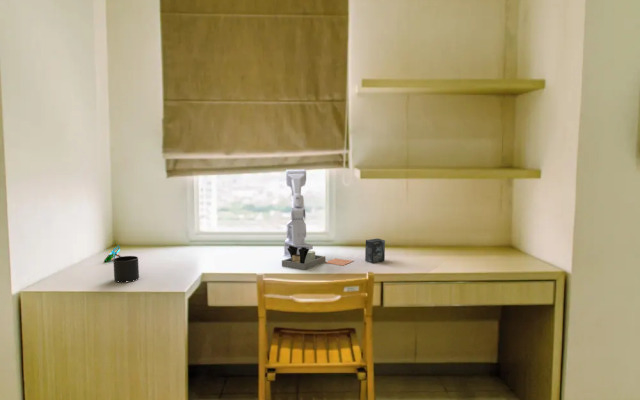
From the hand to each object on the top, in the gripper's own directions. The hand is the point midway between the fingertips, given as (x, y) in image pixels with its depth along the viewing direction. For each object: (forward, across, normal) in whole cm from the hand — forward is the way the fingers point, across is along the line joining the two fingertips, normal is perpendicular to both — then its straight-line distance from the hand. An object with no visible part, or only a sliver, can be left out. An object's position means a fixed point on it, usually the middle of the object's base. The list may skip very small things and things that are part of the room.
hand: (298, 263), depth 210 cm
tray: (+2, 0, +4) cm, 5 cm away
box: (+2, +25, +28) cm, 38 cm away
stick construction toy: (+2, -83, -38) cm, 92 cm away
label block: (+1, 0, 0) cm, 1 cm away
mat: (+2, +12, +16) cm, 20 cm away
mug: (+2, -49, -54) cm, 73 cm away
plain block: (+1, 0, +9) cm, 9 cm away
